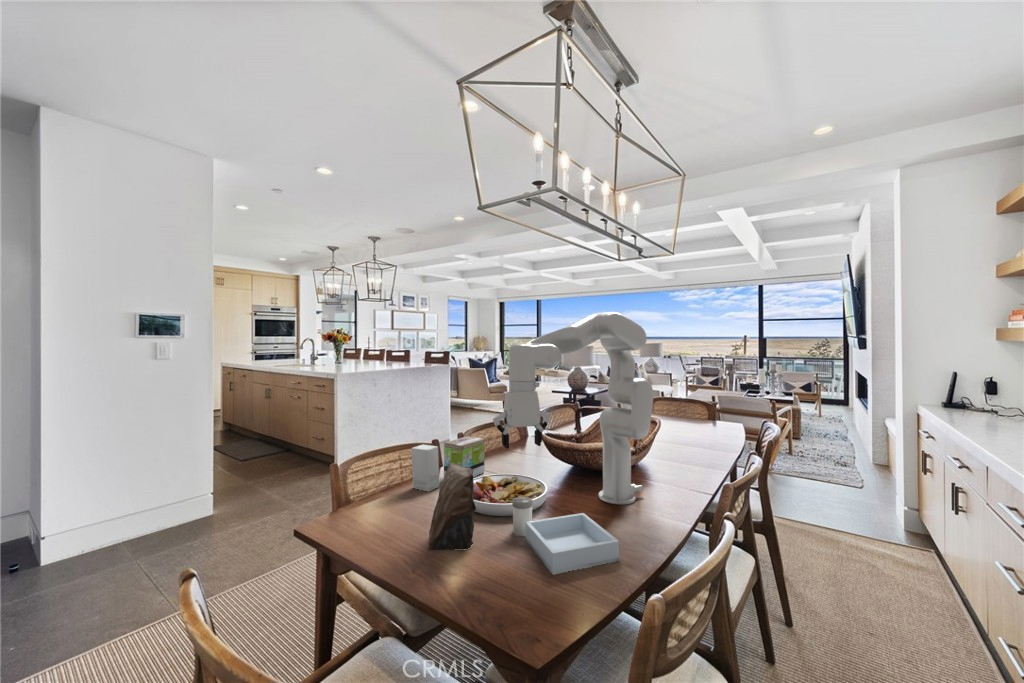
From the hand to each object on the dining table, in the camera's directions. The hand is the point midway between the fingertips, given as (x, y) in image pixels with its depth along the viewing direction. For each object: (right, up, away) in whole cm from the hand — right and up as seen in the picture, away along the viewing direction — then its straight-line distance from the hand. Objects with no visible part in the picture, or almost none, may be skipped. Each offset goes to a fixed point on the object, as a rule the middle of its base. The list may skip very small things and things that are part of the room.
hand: (522, 446), depth 118 cm
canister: (0, -25, 0) cm, 25 cm away
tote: (+12, -24, -11) cm, 29 cm away
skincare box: (-35, -25, +36) cm, 57 cm away
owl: (-20, -25, -6) cm, 32 cm away
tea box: (-22, -25, +50) cm, 60 cm away
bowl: (-6, -25, +23) cm, 35 cm away
